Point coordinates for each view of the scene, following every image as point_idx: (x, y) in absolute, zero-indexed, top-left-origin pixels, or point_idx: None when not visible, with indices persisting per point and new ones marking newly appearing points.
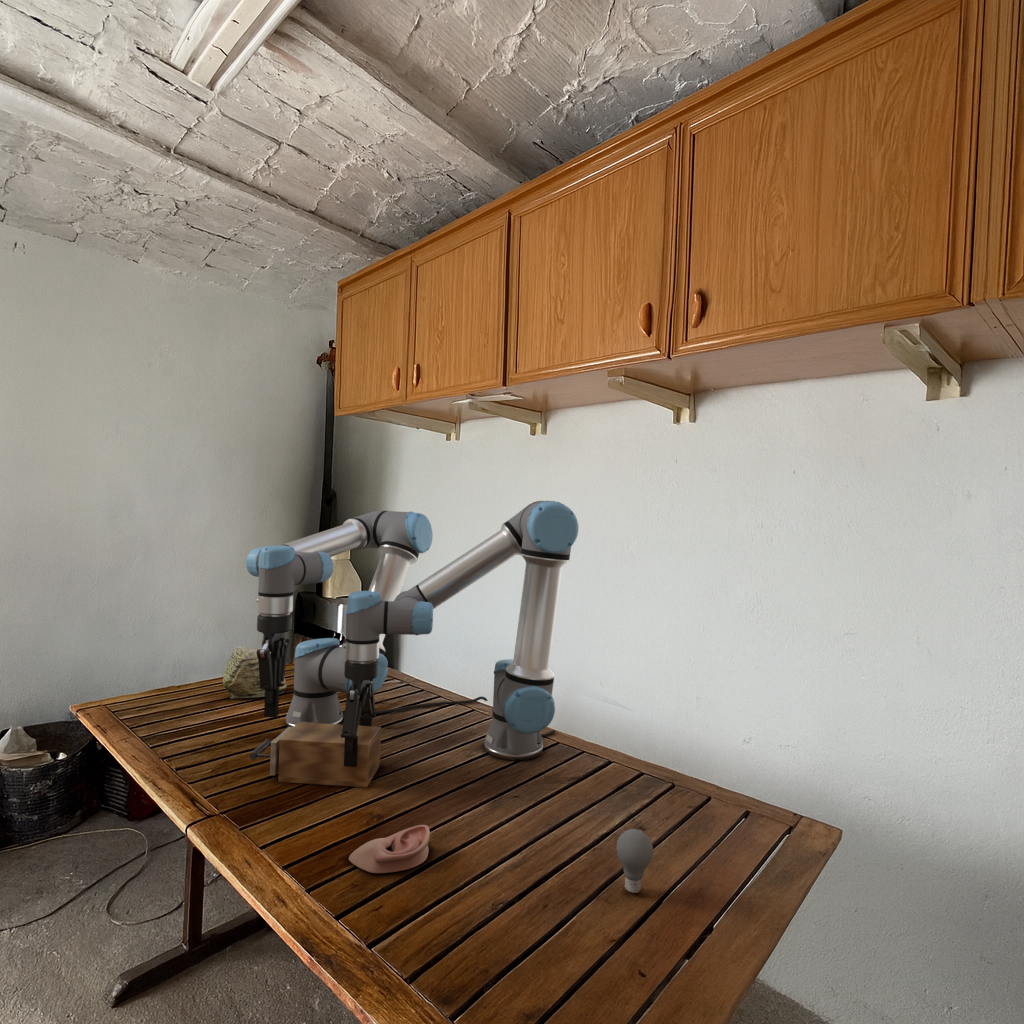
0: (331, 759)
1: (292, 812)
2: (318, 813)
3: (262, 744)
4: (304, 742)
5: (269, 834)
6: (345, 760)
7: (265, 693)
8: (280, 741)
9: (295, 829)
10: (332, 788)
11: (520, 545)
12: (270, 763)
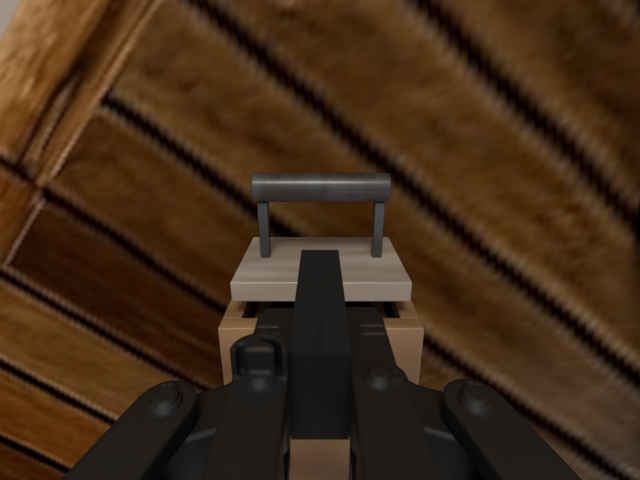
0: None
1: (109, 347)
2: (123, 395)
3: (332, 192)
4: None
5: (6, 337)
6: None
7: (292, 329)
8: (220, 326)
9: (45, 376)
10: None
11: None
12: (246, 251)
